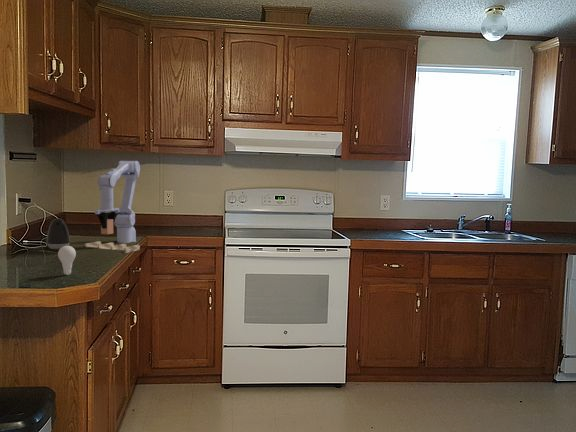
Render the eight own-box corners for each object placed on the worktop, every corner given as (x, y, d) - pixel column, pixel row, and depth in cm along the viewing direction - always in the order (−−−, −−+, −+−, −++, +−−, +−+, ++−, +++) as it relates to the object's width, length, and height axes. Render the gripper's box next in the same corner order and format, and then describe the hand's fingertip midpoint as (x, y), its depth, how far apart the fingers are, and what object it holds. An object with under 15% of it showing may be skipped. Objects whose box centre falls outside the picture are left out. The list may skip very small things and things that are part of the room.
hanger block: (107, 232, 249) (106, 218, 248) (113, 233, 247) (113, 219, 247) (101, 233, 245) (100, 219, 245) (107, 234, 244) (107, 220, 243)
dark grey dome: (46, 252, 235) (45, 219, 234) (47, 248, 245) (46, 217, 243) (69, 251, 239) (69, 219, 238) (70, 247, 249) (69, 217, 247)
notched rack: (99, 246, 255) (99, 241, 255) (139, 249, 246) (139, 244, 246) (84, 248, 246) (84, 243, 246) (125, 252, 237) (125, 247, 236)
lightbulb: (75, 272, 191) (74, 244, 190) (77, 276, 186) (76, 246, 185) (57, 274, 189) (57, 245, 188) (59, 277, 183) (58, 247, 182)
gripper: (111, 198, 253) (111, 225, 254) (89, 200, 240) (90, 228, 241) (122, 199, 250) (122, 226, 251) (101, 201, 237) (101, 229, 238)
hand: (107, 227), depth 246 cm, fingers closed on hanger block, 4 cm apart
